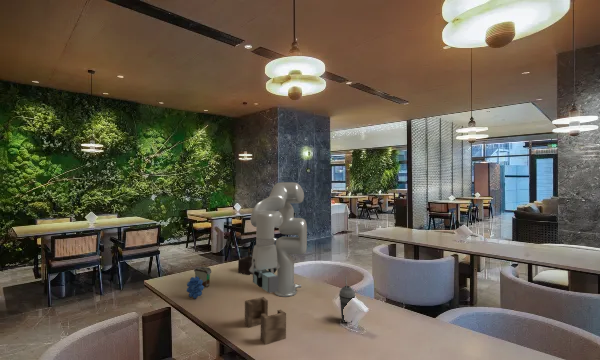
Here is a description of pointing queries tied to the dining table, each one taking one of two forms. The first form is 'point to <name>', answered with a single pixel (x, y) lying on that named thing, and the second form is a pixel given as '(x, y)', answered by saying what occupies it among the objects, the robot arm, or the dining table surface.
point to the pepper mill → (245, 264)
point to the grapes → (195, 287)
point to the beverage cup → (345, 297)
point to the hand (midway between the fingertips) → (264, 284)
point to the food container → (203, 275)
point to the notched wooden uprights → (265, 320)
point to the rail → (267, 281)
